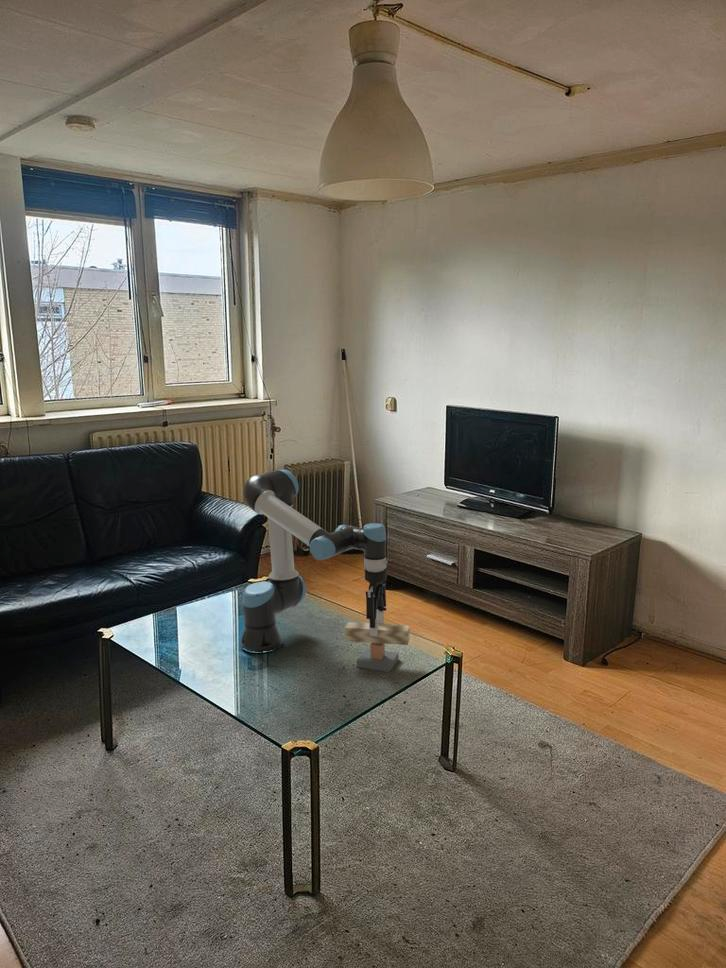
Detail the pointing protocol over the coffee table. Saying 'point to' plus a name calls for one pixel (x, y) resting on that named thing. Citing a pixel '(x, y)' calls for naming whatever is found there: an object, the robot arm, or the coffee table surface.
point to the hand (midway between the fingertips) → (377, 632)
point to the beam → (385, 633)
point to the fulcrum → (377, 658)
